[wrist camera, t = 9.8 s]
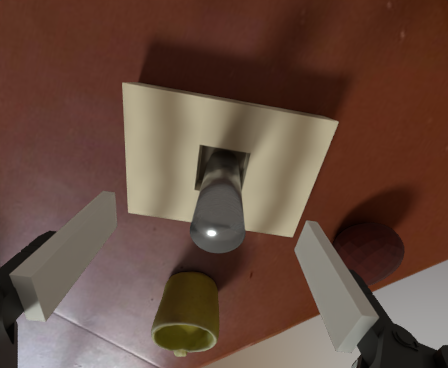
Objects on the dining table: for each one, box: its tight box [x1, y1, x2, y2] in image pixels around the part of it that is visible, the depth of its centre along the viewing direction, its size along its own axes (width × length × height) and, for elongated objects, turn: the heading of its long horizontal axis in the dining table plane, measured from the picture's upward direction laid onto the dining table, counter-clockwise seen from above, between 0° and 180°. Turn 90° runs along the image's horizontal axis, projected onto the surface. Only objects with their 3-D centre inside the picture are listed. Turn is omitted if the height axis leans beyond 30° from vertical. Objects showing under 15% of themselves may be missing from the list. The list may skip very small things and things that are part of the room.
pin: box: [190, 150, 245, 253], centre depth 19 cm, size 4×4×12 cm
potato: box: [332, 223, 404, 286], centre depth 27 cm, size 7×10×6 cm
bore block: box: [122, 82, 339, 237], centre depth 24 cm, size 20×14×4 cm
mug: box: [151, 271, 219, 356], centre depth 33 cm, size 12×10×10 cm
